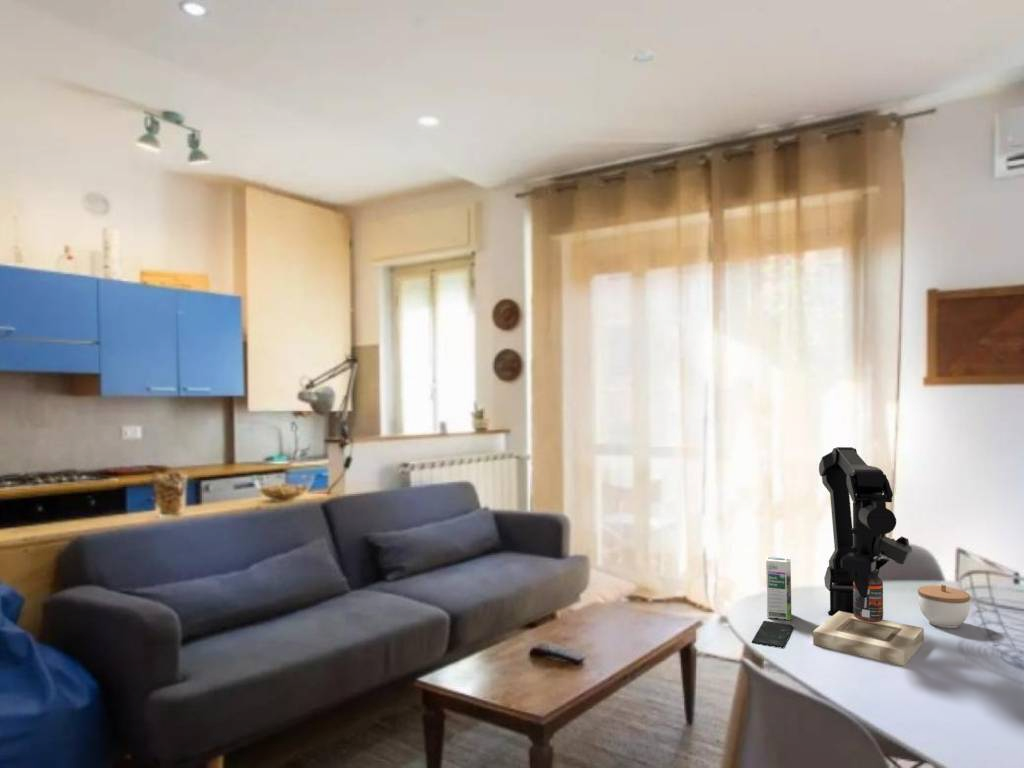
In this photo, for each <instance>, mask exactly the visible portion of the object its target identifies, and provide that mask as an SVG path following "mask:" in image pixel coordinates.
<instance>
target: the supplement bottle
mask: <svg viewBox="0 0 1024 768" xmlns="http://www.w3.org/2000/svg"><path fill="white" fill-rule="evenodd" d="M875 569H876V568H875ZM853 612H854V616H855V617H856V618H857V619H859V620H862V621H866V622H880V621H882V620H884V583H883V580H882V579H881V578H880V576H879V577H878V570H877V571H875V572H874V573H873V574H871V576H870V582H869V588H868V594H867V597H866V598H863V597H861V596H860V594H859V592H858V590H857V588H856V586H855V584H854V582H853Z"/></svg>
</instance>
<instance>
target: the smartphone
mask: <svg viewBox="0 0 1024 768" xmlns="http://www.w3.org/2000/svg"><path fill="white" fill-rule="evenodd" d="M793 629H794V625H793V624H790V623H789V624H788V623H782V622H777V621H775V622H774V621H769V620H763V621H762V623H761V625H760V627H759V628H758V630H757V631H756V634H755V635H754V637H753V639H752V640H751V643H752V644H754V643H755V645H760V644H762V645H761V646H767V645H768V646H767V647H771V646H775V647H774V648H777V647H781V648H780V649H784V648H785V647H784V646H786V644H787V642H788V640H789V638H790V636H791V634H790V633H792V631H793ZM788 637H789V638H788ZM787 639H788V640H787ZM786 641H787V642H786ZM783 647H784V648H783Z"/></svg>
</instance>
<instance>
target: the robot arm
mask: <svg viewBox="0 0 1024 768" xmlns="http://www.w3.org/2000/svg"><path fill="white" fill-rule="evenodd" d="M818 472H819V476H820V477H821V481H822V484H823V485H824V488H826V490H827V491H828V492H829V495H830V497H829V499H830V508H831V518H832V519H831V521H832V530H833V531H832V532H833V543H834V546H833V547H834V551H833V553H832V555H831V556H830V558H829V560H828V566H827V568H826V571H825V575H824V587H825V588H826V589H827V590H828V591H829V610H828V611H827V614H828V615H831V616H833V615H834V614H836V613H837V612H838V611H842V612H847V613H852V614H854V612H853V582H854V584H855V586H856V588H857V590H858V592H859V594H860V596H861V597H863V598H866V597H867V594H868V588H869V582H870V576H871V574H873V573H874V572H875V571H877V570H878V577H879V578H880V574H881V570H882V567H883V566H886V564H888V563H889V562H890V559H891V560H892V561H894V562H895V563H896V564H899V565H904V564H905V563H907V562H908V559H909V557H910V554H912V553H913V551H912V550H913V548H912V546H910V542H909V538H906V537H904V536H900V537H898V538H897V539H895V538H893V537H892V538H890V537H888V536H887V534H889V533H891V532H893V530H895V528H896V526H897V518H896V515H895V513H894V512H893V511H892V510H891V509H889V508H887V503H893V495H894V493H893V490H892V487H891V484H890V480H889V479H888V478H887V475H886V474H885V473H884V471H883V470H882V469H881V468H879V467H877V466H872V465H868V464H867V463H866V462H865V461H864V459H862V457H861V456H860V455H859V453H858V452H857V449H856V448H855V447H852V446H851V447H849V446H845V447H844V446H836V447H834V448H833V449H832V451H830V452H829V453H828V454H825V455H823V456H822V457H821V458H820V462H819V464H818ZM851 501H852V510H851ZM883 556H884V557H886V558H884V557H883ZM875 568H876V569H875Z"/></svg>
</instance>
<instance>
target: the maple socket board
mask: <svg viewBox="0 0 1024 768" xmlns="http://www.w3.org/2000/svg"><path fill="white" fill-rule="evenodd" d="M812 635H813V636H812V642H813V643H812V644H813V646H814V645H815V646H818V647H823V648H828V649H832V650H835V651H840V652H843V653H847V654H852V655H857V656H859V657H860V656H861V657H865V658H868V659H873V660H878V661H883V662H886V663H890V664H893V665H898V666H903V667H904V666H906V664H907V663H908V662H909V661H910V659H911V658H912V657H913V656H914V654H916V652H917V650H919V648H920V647H921V646H922V644H923V643H925V628H924V627H921V626H915V625H911V624H906V623H900V622H897V621H890V620H884V619H883V620H882V621H880V622H866V621H862V620H859V619H857V618H856V617H855V616H854V614H852V613H847V612H842V611H838V612H837V613H836V614H834V615H831V616H830V617H829V618H828V619H826V620H825V621H824V622H823V623H821V624H820V625H819V626H818V627H816V628H815V629H814V630H813V631H812Z"/></svg>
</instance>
